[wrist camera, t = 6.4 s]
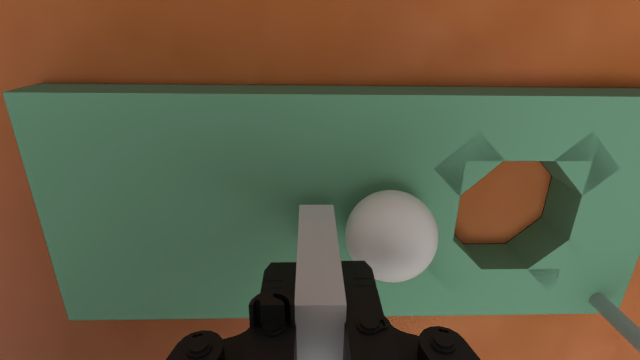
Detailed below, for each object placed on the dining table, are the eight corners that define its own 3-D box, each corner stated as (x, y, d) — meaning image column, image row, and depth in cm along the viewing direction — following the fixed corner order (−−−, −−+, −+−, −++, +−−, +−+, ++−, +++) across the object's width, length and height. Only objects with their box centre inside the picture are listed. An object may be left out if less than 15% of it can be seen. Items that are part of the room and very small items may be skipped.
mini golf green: (92, 290, 23) (-183, 637, 10) (40, 83, 18) (-584, 229, 6) (587, 285, 24) (915, 592, 11) (652, 88, 20) (1333, 220, 7)
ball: (397, 241, 20) (328, 260, 19) (403, 170, 19) (329, 184, 17) (452, 286, 17) (374, 314, 15) (465, 204, 15) (380, 226, 14)
